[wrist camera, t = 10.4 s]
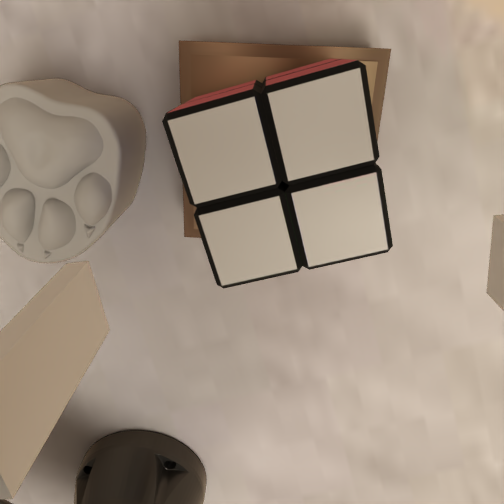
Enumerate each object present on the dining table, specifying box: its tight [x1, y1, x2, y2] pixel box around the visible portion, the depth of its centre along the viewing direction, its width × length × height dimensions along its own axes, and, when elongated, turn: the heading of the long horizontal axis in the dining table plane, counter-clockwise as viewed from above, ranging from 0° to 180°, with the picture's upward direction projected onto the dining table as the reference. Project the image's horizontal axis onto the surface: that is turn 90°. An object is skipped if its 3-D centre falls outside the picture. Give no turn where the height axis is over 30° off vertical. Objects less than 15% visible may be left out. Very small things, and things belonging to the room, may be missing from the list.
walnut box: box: [179, 41, 391, 238], centre depth 34 cm, size 14×14×6 cm
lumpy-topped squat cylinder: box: [0, 78, 146, 263], centre depth 34 cm, size 10×13×9 cm
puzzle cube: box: [162, 58, 393, 288], centre depth 27 cm, size 10×10×10 cm
